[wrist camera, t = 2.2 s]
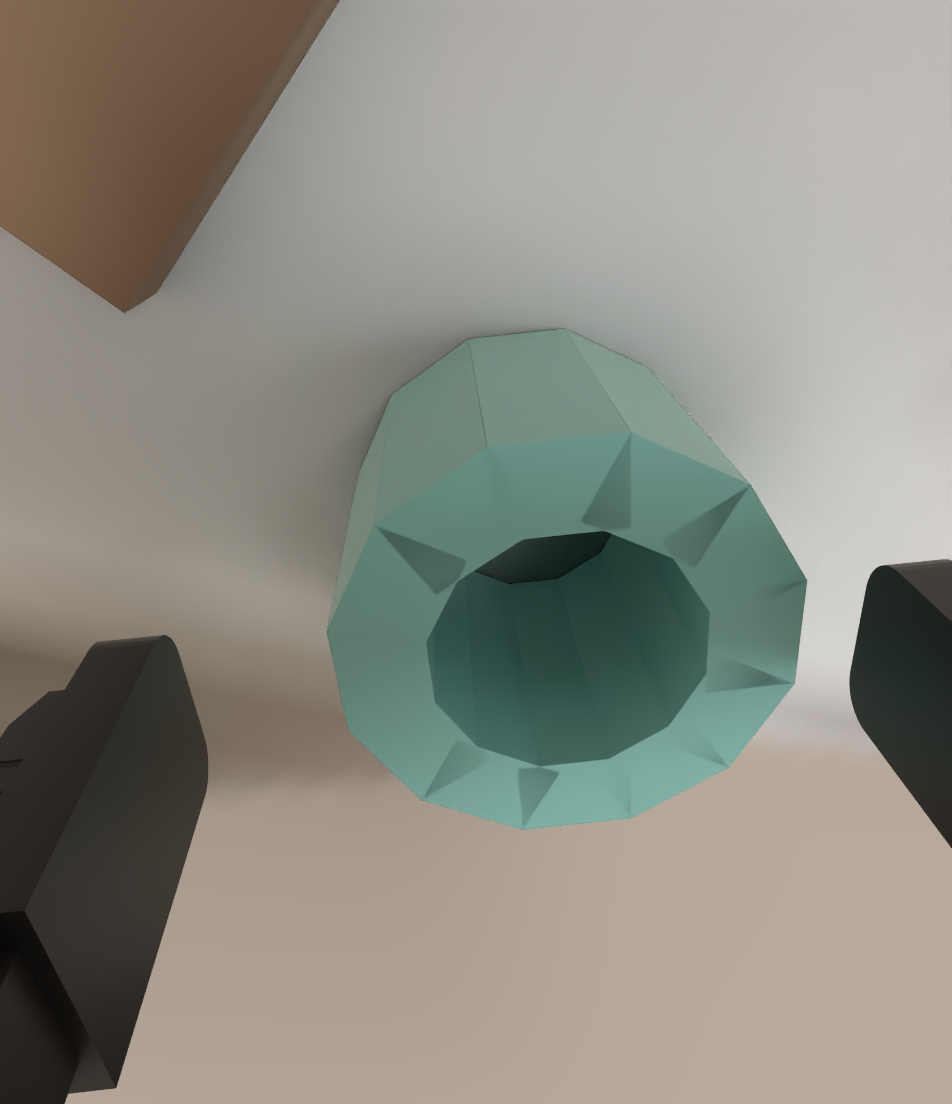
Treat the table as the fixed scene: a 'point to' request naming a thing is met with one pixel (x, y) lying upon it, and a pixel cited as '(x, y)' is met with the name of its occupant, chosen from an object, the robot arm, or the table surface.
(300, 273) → the table surface
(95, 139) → the carrier plate
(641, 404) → the teal short hollow cylinder
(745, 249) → the table surface
